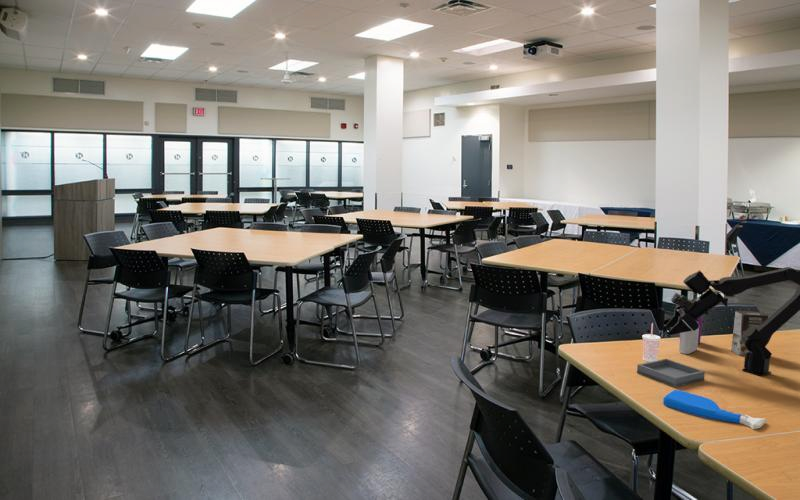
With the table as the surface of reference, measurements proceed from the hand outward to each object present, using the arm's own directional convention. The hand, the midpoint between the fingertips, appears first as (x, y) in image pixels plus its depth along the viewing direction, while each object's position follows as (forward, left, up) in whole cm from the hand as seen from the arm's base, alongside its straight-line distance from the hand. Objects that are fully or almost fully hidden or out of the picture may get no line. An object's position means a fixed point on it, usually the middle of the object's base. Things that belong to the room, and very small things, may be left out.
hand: (667, 330), depth 201 cm
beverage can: (+13, -32, -12) cm, 36 cm away
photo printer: (+5, -20, -12) cm, 23 cm away
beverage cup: (+4, +3, -12) cm, 13 cm away
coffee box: (-7, -38, -12) cm, 40 cm away
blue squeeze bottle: (-36, +27, -12) cm, 47 cm away
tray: (-11, +12, -12) cm, 20 cm away
